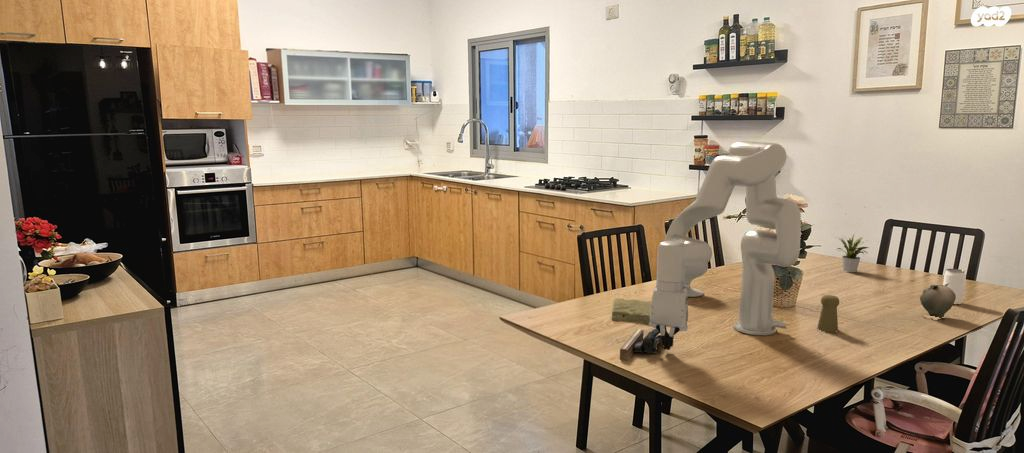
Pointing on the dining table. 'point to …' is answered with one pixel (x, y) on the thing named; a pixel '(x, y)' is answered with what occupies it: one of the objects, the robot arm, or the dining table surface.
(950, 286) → the can
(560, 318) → the dining table surface
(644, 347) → the can opener
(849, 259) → the house plant
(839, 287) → the dining table surface
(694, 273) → the chalice
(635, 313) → the decorative tile
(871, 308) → the dining table surface
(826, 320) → the cork
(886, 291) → the dining table surface
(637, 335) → the walnut rail
